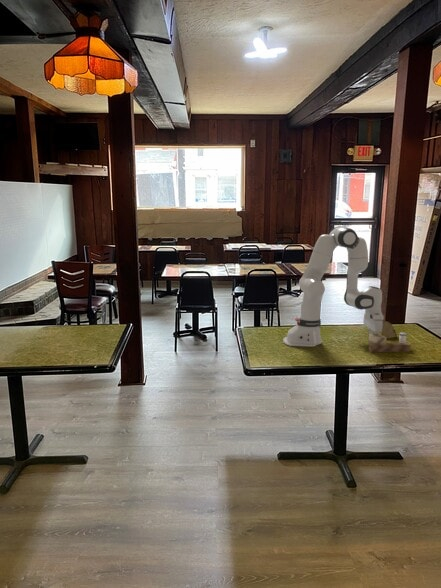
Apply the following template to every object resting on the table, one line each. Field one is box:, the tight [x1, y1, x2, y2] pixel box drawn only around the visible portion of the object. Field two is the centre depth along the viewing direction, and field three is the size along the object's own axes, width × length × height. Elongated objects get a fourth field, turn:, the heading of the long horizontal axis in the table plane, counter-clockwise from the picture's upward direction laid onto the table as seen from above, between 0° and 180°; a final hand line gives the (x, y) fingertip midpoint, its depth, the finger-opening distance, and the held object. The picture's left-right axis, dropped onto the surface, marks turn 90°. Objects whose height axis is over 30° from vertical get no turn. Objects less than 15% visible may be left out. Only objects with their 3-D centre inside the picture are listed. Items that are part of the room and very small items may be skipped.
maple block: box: [368, 333, 387, 344], centre depth 250 cm, size 6×8×5 cm
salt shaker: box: [398, 331, 408, 343], centre depth 244 cm, size 4×4×8 cm
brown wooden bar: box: [368, 342, 412, 353], centre depth 238 cm, size 22×3×4 cm, turn 92°
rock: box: [380, 320, 398, 340], centre depth 261 cm, size 11×9×10 cm
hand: (371, 335), depth 258 cm, fingers closed
